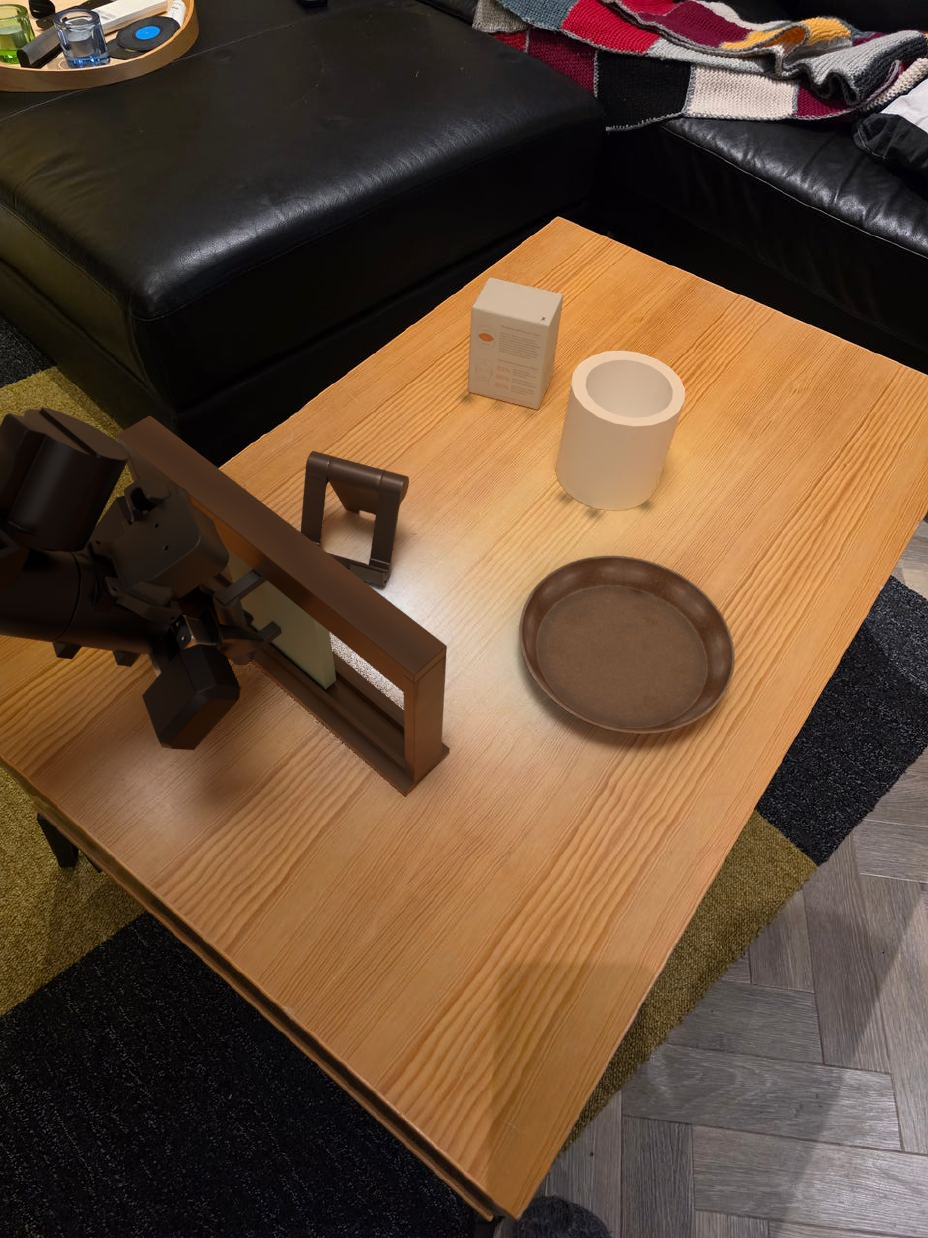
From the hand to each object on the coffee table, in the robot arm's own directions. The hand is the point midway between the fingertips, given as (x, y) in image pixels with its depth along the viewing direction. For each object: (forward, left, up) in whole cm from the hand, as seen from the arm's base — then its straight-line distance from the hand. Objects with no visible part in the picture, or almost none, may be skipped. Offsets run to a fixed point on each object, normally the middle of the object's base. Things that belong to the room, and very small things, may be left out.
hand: (255, 632), depth 65 cm
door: (+1, 0, -6) cm, 6 cm away
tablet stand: (+15, +5, -7) cm, 17 cm away
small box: (+42, +9, -7) cm, 43 cm away
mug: (+40, -6, -7) cm, 41 cm away
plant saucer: (+22, -20, -7) cm, 30 cm away
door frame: (+3, 0, -7) cm, 8 cm away
